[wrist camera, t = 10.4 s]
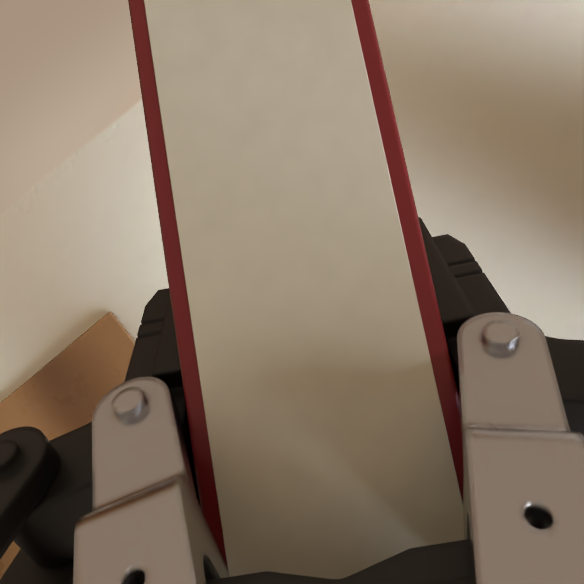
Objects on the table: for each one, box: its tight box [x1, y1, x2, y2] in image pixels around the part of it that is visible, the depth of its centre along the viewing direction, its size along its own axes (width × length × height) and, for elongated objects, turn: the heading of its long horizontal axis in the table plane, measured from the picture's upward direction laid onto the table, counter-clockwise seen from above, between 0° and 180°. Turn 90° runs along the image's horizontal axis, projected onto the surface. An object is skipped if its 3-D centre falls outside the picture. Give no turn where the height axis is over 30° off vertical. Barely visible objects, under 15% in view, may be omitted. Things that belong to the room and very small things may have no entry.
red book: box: [128, 0, 464, 579], centre depth 12 cm, size 14×4×8 cm, turn 10°
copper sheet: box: [0, 312, 135, 579], centre depth 24 cm, size 12×20×1 cm, turn 40°
